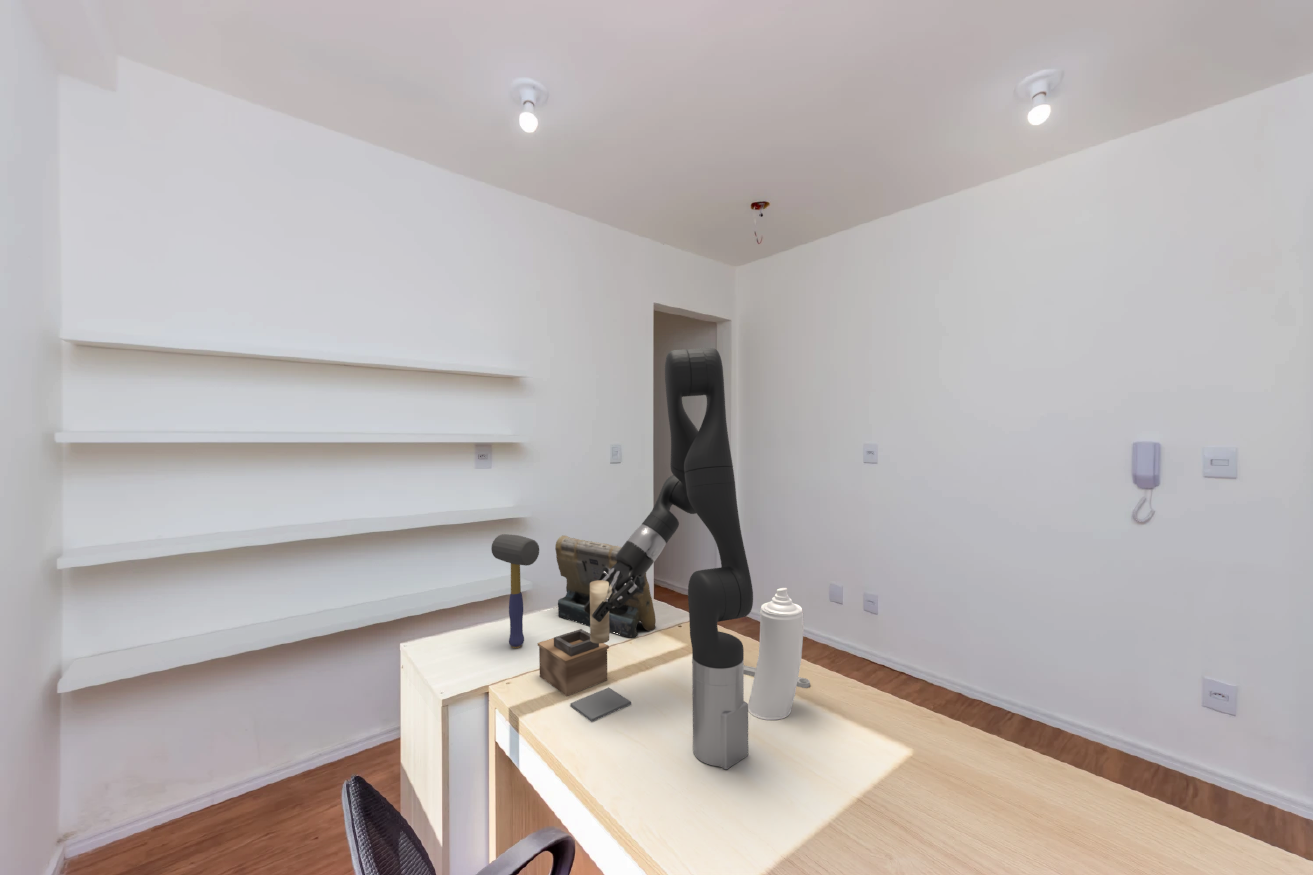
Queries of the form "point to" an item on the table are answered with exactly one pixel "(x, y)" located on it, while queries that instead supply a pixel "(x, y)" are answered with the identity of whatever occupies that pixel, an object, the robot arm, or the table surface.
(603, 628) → the wooden cylinder
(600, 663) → the wooden box
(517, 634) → the rubber mallet
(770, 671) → the spray can
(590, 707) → the rubber mat
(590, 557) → the tablet
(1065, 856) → the table surface
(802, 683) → the adjustable wrench
